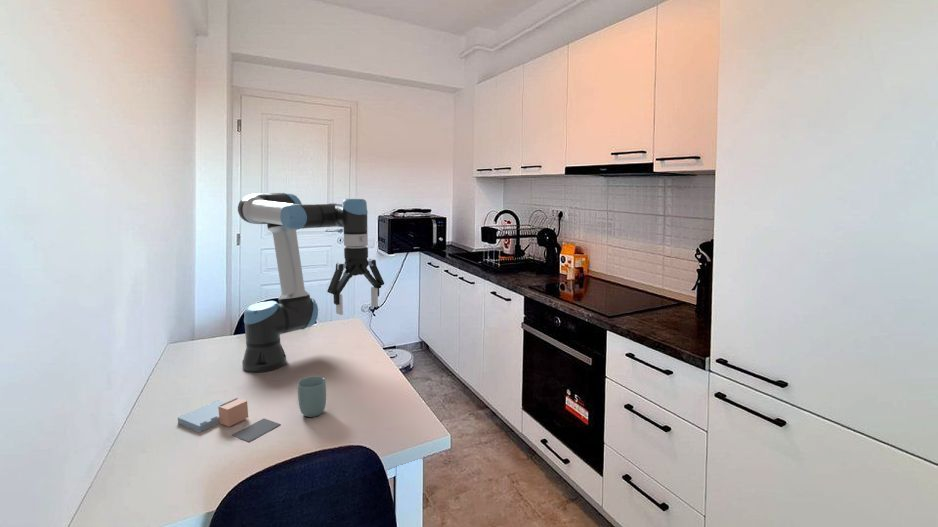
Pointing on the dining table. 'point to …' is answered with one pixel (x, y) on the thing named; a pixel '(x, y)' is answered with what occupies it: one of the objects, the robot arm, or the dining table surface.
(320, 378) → the cup
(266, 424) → the mat
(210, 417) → the board
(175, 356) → the dining table surface
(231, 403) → the stub
